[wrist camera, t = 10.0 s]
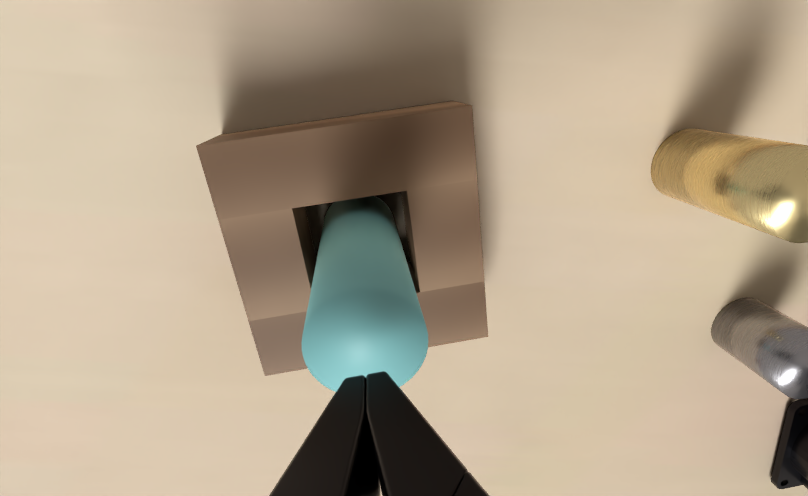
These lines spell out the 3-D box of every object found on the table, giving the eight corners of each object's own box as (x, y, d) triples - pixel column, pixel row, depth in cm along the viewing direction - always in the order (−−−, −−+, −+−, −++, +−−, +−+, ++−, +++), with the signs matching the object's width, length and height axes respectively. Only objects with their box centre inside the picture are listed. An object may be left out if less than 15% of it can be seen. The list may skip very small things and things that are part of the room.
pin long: (398, 253, 20) (434, 385, 11) (330, 264, 19) (315, 406, 11) (389, 187, 18) (420, 278, 10) (317, 198, 18) (288, 300, 10)
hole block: (469, 301, 21) (488, 336, 18) (276, 334, 20) (264, 375, 18) (452, 100, 18) (471, 105, 15) (221, 134, 17) (196, 145, 14)
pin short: (761, 342, 24) (837, 392, 20) (707, 353, 24) (774, 404, 20) (771, 293, 23) (853, 335, 19) (715, 303, 23) (787, 348, 19)
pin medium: (711, 191, 20) (849, 234, 15) (648, 201, 20) (763, 249, 14) (720, 123, 19) (872, 142, 14) (653, 134, 19) (780, 157, 13)
